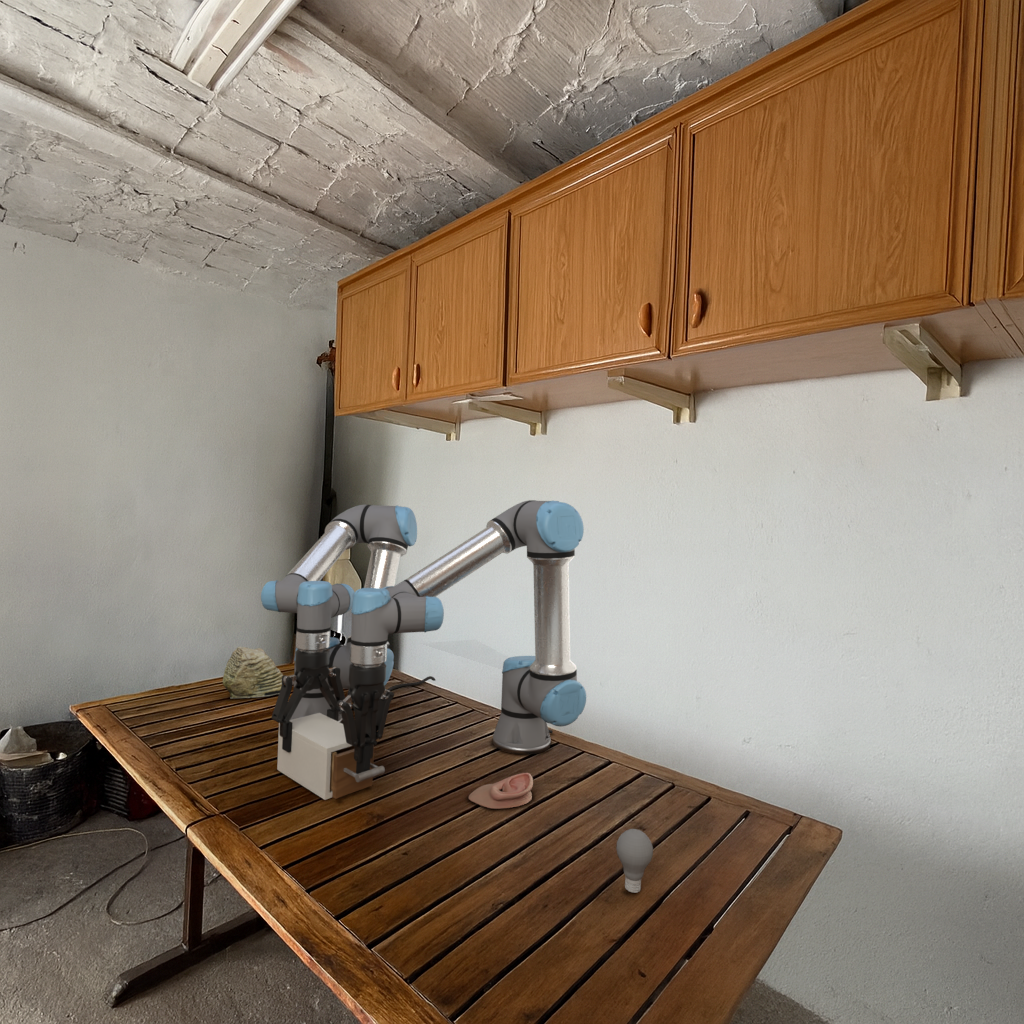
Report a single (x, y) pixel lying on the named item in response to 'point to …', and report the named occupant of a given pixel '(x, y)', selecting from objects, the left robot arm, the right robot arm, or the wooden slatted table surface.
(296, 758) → the cabinet
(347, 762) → the drawer
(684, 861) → the wooden slatted table surface
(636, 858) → the light bulb
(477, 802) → the anatomical model
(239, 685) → the fossil
